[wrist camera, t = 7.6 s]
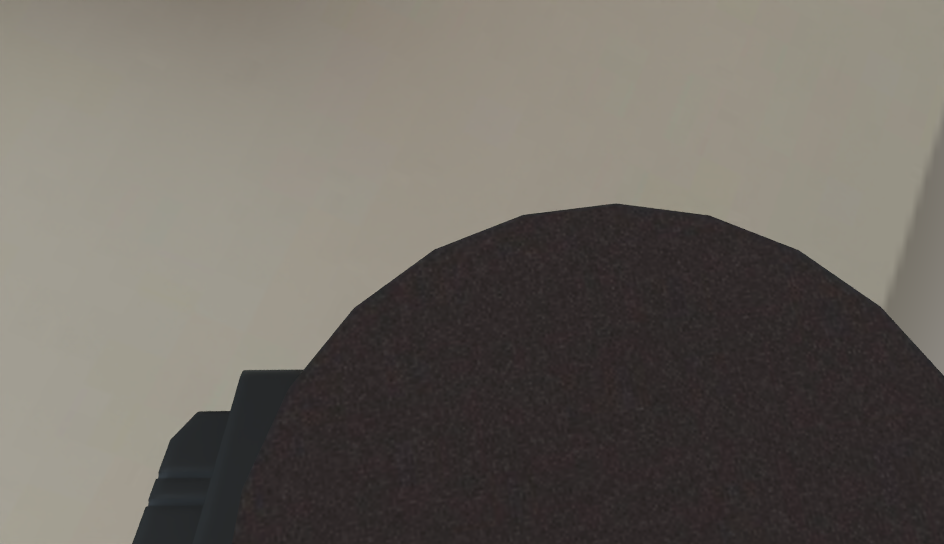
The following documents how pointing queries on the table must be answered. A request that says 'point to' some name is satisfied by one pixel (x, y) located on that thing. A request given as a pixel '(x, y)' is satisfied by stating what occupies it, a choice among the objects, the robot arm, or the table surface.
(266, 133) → the table surface
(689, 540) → the deodorant
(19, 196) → the table surface
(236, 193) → the table surface
